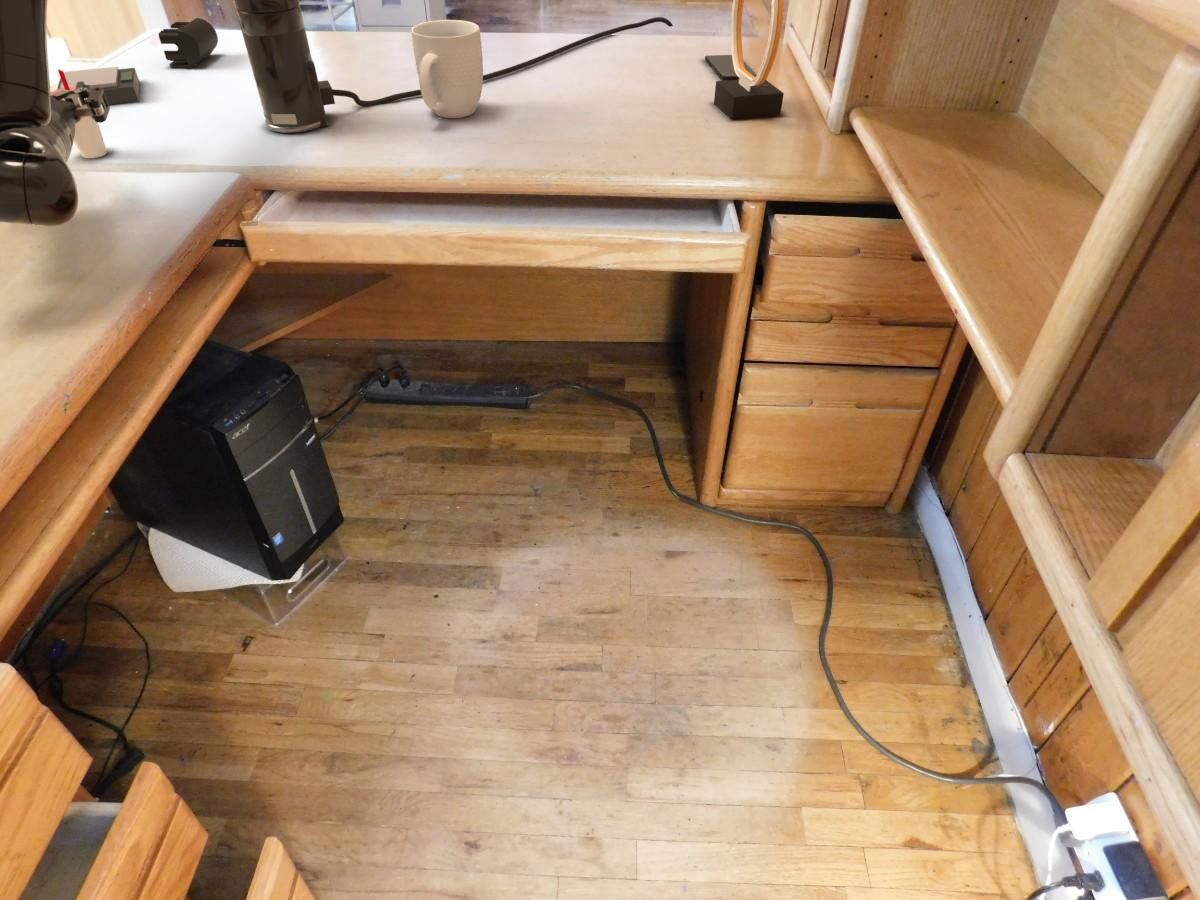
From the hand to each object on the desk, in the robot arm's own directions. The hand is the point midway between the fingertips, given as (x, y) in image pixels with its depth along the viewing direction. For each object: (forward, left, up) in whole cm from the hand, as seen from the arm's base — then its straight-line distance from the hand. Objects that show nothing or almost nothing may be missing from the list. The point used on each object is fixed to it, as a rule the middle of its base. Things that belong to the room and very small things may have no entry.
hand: (47, 93), depth 100 cm
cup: (0, -13, -13) cm, 18 cm away
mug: (-55, -10, -13) cm, 57 cm away
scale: (0, -43, -12) cm, 45 cm away
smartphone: (-112, -14, -13) cm, 114 cm away
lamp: (-103, +7, -13) cm, 104 cm away
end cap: (-16, -59, -13) cm, 63 cm away
